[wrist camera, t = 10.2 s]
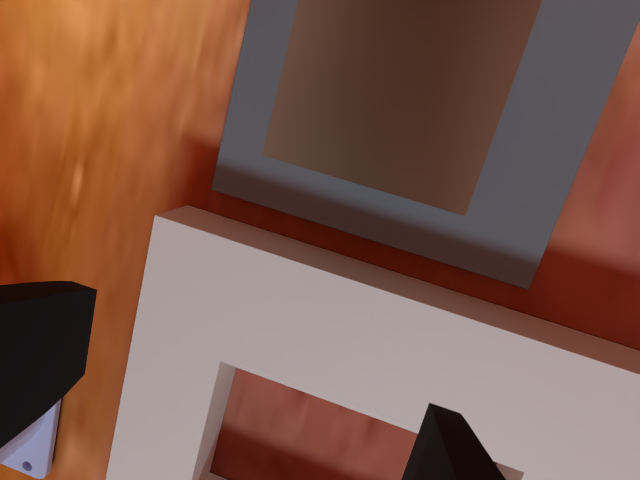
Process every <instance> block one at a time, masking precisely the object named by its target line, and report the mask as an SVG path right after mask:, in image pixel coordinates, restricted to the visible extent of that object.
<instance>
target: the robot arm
mask: <svg viewBox="0 0 640 480" xmlns="http://www.w3.org/2000/svg"><path fill="white" fill-rule="evenodd" d="M96 294H97V290H96V289H93V288H90V287H87V286H84V285H81V284H78V283H75V282H72V281H47V282H32V283H20V284H10V285H0V464H3V465H6V466H8V467H11V468H13V469H15V470H18V471H20V472H22V473H25V474H27V475H30V476H32V477H34V478H38V479H42V478H44V477H45V476H46V475H47V474H48V473H49V472H50V470H51V465H52V458H53V452H54V445H55V438H56V432H57V425H58V418H59V411H60V405H61V398H62V397H63V396H64V395H65V394H66V393H67V392H68V391H69V390H70V389H71V388H72V387H73V386H74V385H75V384H76V383H77V382H78V380H79V379H80V378H81V377H82V376H83V375H84V374H85V368H86V361H87V354H88V347H89V341H90V334H91V327H92V321H93V314H94V307H95V300H96ZM402 480H506V479H505V477H504V476H503V475H502V473H501V472H500V470H499V469H498V467H497V466H496V464H495V463H494V462H493V460H492V459H491V457H490V456H489V454H488V453H487V451H486V450H485V448H484V447H483V445H482V444H481V442H480V441H479V439H478V438H477V436H476V435H475V433H474V432H473V430H472V429H471V427H470V426H469V424H468V423H467V421H466V420H465V418H464V417H463V416H462V415H461V413H458V412H455V411H452V410H450V409H447V408H444V407H441V406H438V405H435V404H432V403H429V405H428V407H427V410H426V413H425V416H424V419H423V421H422V424H421V427H420V430H419V433H418V435H417V438H416V441H415V444H414V446H413V449H412V452H411V455H410V458H409V460H408V463H407V466H406V469H405V472H404V474H403V477H402Z"/></svg>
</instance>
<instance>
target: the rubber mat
mask: <svg viewBox="0 0 640 480" xmlns="http://www.w3.org/2000/svg"><path fill="white" fill-rule="evenodd" d="M297 4H298V0H251V4H250V9H249V14H248V18H247V23H246V28H245V32H244V37H243V42H242V47H241V51H240V56H239V61H238V65H237V70H236V75H235V79H234V84H233V89H232V93H231V98H230V103H229V107H228V112H227V117H226V121H225V126H224V131H223V135H222V140H221V145H220V149H219V154H218V159H217V163H216V168H215V173H214V178H213V182H212V187H211V190H214V191H217V192H220V193H224V194H227V195H230V196H233V197H236V198H239V199H243V200H246V201H249V202H252V203H255V204H258V205H262V206H265V207H268V208H271V209H274V210H277V211H281V212H284V213H287V214H290V215H293V216H296V217H300V218H303V219H306V220H309V221H312V222H315V223H319V224H322V225H325V226H328V227H331V228H334V229H338V230H341V231H344V232H347V233H350V234H353V235H357V236H360V237H363V238H366V239H369V240H372V241H376V242H379V243H382V244H385V245H388V246H391V247H395V248H398V249H401V250H404V251H407V252H410V253H414V254H417V255H420V256H423V257H426V258H429V259H433V260H436V261H439V262H442V263H445V264H448V265H452V266H455V267H458V268H461V269H464V270H467V271H471V272H474V273H477V274H480V275H483V276H486V277H490V278H493V279H496V280H499V281H502V282H505V283H509V284H512V285H515V286H518V287H521V288H524V289H528V290H529V288H530V285H531V283H532V281H533V278H534V276H535V273H536V271H537V268H538V266H539V263H540V261H541V259H542V256H543V254H544V251H545V249H546V246H547V244H548V242H549V239H550V237H551V234H552V232H553V229H554V227H555V225H556V222H557V220H558V217H559V215H560V212H561V210H562V207H563V205H564V203H565V200H566V198H567V195H568V193H569V190H570V188H571V186H572V183H573V181H574V178H575V176H576V173H577V171H578V168H579V166H580V164H581V161H582V159H583V156H584V154H585V151H586V149H587V147H588V144H589V142H590V139H591V137H592V134H593V132H594V130H595V127H596V125H597V122H598V120H599V117H600V115H601V112H602V110H603V108H604V105H605V103H606V100H607V98H608V95H609V93H610V91H611V88H612V86H613V83H614V81H615V78H616V76H617V74H618V71H619V69H620V66H621V64H622V61H623V59H624V56H625V54H626V52H627V49H628V47H629V44H630V42H631V39H632V37H633V35H634V32H635V30H636V27H637V25H638V22H639V20H640V0H542V2H541V5H540V8H539V11H538V13H537V16H536V19H535V22H534V25H533V28H532V30H531V33H530V36H529V39H528V42H527V44H526V47H525V50H524V53H523V56H522V58H521V61H520V64H519V67H518V70H517V72H516V75H515V78H514V81H513V84H512V87H511V89H510V92H509V95H508V98H507V101H506V103H505V106H504V109H503V112H502V115H501V117H500V120H499V123H498V126H497V129H496V131H495V134H494V137H493V140H492V143H491V146H490V148H489V151H488V154H487V157H486V160H485V162H484V165H483V168H482V171H481V174H480V176H479V179H478V182H477V185H476V188H475V190H474V193H473V196H472V199H471V202H470V205H469V207H468V210H467V213H466V216H463V215H460V214H456V213H453V212H450V211H446V210H443V209H440V208H436V207H433V206H430V205H426V204H423V203H420V202H416V201H413V200H410V199H406V198H403V197H400V196H396V195H393V194H389V193H386V192H383V191H379V190H376V189H373V188H369V187H366V186H363V185H359V184H356V183H353V182H349V181H346V180H343V179H339V178H336V177H333V176H329V175H326V174H323V173H319V172H316V171H313V170H309V169H306V168H302V167H299V166H296V165H292V164H289V163H286V162H282V161H279V160H276V159H272V158H269V157H266V156H262V153H263V149H264V144H265V140H266V136H267V131H268V127H269V123H270V119H271V114H272V110H273V106H274V102H275V97H276V93H277V89H278V85H279V80H280V76H281V72H282V68H283V63H284V59H285V55H286V51H287V46H288V42H289V38H290V34H291V29H292V25H293V21H294V17H295V12H296V8H297Z"/></svg>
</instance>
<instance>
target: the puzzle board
mask: <svg viewBox="0 0 640 480" xmlns="http://www.w3.org/2000/svg"><path fill="white" fill-rule="evenodd" d="M236 367H237V368H240V369H242V370H245V371H248V372H251V373H253V374H256V375H259V376H262V377H264V378H267V379H270V380H273V381H275V382H278V383H281V384H284V385H286V386H289V387H292V388H295V389H297V390H300V391H303V392H305V393H308V394H311V395H314V396H316V397H319V398H322V399H325V400H327V401H330V402H333V403H336V404H338V405H341V406H344V407H347V408H349V409H352V410H355V411H357V412H360V413H363V414H366V415H368V416H371V417H374V418H377V419H379V420H382V421H385V422H388V423H390V424H393V425H396V426H399V427H401V428H404V429H407V430H409V431H412V432H415V433H419V430H420V427H421V424H422V421H423V419H424V416H425V413H426V410H427V407H428V405H429V403H432V404H435V405H438V406H441V407H444V408H447V409H450V410H452V411H455V412H458V413H461V415H462V416H463V417H464V418H465V420H466V421H467V423H468V424H469V426H470V427H471V429H472V430H473V432H474V433H475V435H476V436H477V438H478V439H479V441H480V442H481V444H482V445H483V447H484V448H485V450H486V451H487V453H488V454H489V456H490V457H491V459H492V460H493V461H494V462H497V464H496V466H497V467H498V469H499V470H500V472H501V473H502V475H503V476H504V477H505V479H506V480H640V351H639V350H636V349H633V348H630V347H627V346H624V345H620V344H617V343H614V342H611V341H608V340H605V339H602V338H599V337H596V336H593V335H589V334H586V333H583V332H580V331H577V330H574V329H571V328H568V327H565V326H562V325H558V324H555V323H552V322H549V321H546V320H543V319H540V318H537V317H534V316H531V315H527V314H524V313H521V312H518V311H515V310H512V309H509V308H506V307H503V306H500V305H496V304H493V303H490V302H487V301H484V300H481V299H478V298H475V297H472V296H469V295H465V294H462V293H459V292H456V291H453V290H450V289H447V288H444V287H441V286H438V285H434V284H431V283H428V282H425V281H422V280H419V279H416V278H413V277H410V276H407V275H403V274H400V273H397V272H394V271H391V270H388V269H385V268H382V267H379V266H376V265H372V264H369V263H366V262H363V261H360V260H357V259H354V258H351V257H348V256H345V255H341V254H338V253H335V252H332V251H329V250H326V249H323V248H320V247H317V246H314V245H310V244H307V243H304V242H301V241H298V240H295V239H292V238H289V237H286V236H283V235H279V234H276V233H273V232H270V231H267V230H264V229H261V228H258V227H255V226H252V225H248V224H245V223H242V222H239V221H236V220H233V219H230V218H227V217H224V216H221V215H217V214H214V213H211V212H208V211H205V210H202V209H199V208H196V207H193V206H190V205H186V206H183V207H180V208H176V209H173V210H170V211H167V212H164V213H160V214H157V215H155V217H154V223H153V228H152V233H151V239H150V244H149V250H148V255H147V260H146V266H145V271H144V276H143V282H142V287H141V293H140V298H139V303H138V309H137V314H136V320H135V325H134V330H133V336H132V341H131V347H130V352H129V357H128V363H127V368H126V373H125V379H124V384H123V390H122V395H121V400H120V406H119V411H118V417H117V422H116V427H115V433H114V438H113V444H112V449H111V454H110V460H109V465H108V470H107V476H106V480H228V479H225V478H223V477H220V476H218V475H215V474H213V473H210V469H211V465H212V461H213V457H214V453H215V449H216V445H217V441H218V437H219V433H220V429H221V425H222V421H223V417H224V413H225V409H226V405H227V401H228V397H229V393H230V389H231V385H232V381H233V377H234V373H235V369H236Z"/></svg>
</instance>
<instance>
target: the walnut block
mask: <svg viewBox="0 0 640 480" xmlns="http://www.w3.org/2000/svg"><path fill="white" fill-rule="evenodd" d="M541 2H542V0H298V4H297V8H296V12H295V17H294V21H293V25H292V29H291V34H290V38H289V42H288V46H287V51H286V55H285V59H284V63H283V68H282V72H281V76H280V80H279V85H278V89H277V93H276V97H275V102H274V106H273V110H272V114H271V119H270V123H269V127H268V131H267V136H266V140H265V144H264V149H263V153H262V156H266V157H269V158H272V159H276V160H279V161H282V162H286V163H289V164H292V165H296V166H299V167H302V168H306V169H309V170H313V171H316V172H319V173H323V174H326V175H329V176H333V177H336V178H339V179H343V180H346V181H349V182H353V183H356V184H359V185H363V186H366V187H369V188H373V189H376V190H379V191H383V192H386V193H389V194H393V195H396V196H400V197H403V198H406V199H410V200H413V201H416V202H420V203H423V204H426V205H430V206H433V207H436V208H440V209H443V210H446V211H450V212H453V213H456V214H460V215H463V216H466V213H467V210H468V207H469V205H470V202H471V199H472V196H473V193H474V190H475V188H476V185H477V182H478V179H479V176H480V174H481V171H482V168H483V165H484V162H485V160H486V157H487V154H488V151H489V148H490V146H491V143H492V140H493V137H494V134H495V131H496V129H497V126H498V123H499V120H500V117H501V115H502V112H503V109H504V106H505V103H506V101H507V98H508V95H509V92H510V89H511V87H512V84H513V81H514V78H515V75H516V72H517V70H518V67H519V64H520V61H521V58H522V56H523V53H524V50H525V47H526V44H527V42H528V39H529V36H530V33H531V30H532V28H533V25H534V22H535V19H536V16H537V13H538V11H539V8H540V5H541Z"/></svg>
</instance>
